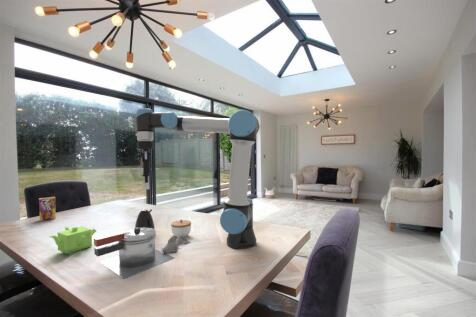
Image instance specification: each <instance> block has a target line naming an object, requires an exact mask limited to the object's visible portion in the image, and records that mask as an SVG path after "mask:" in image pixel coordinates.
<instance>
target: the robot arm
mask: <svg viewBox="0 0 476 317" xmlns="http://www.w3.org/2000/svg"><path fill="white" fill-rule="evenodd" d="M135 119H136V133H135V136H136V140H137V142H136V148H137V149H138V150H142V152H141V155H140V156H141V162H143V163H142V166H143V167H142V170H143V171H142V173H143V174H141V177H142V178H143V180H142V181H143V182H142V183H143V190H150V188H151V187H150V176H151V174H150V166H149V165H150V162H151V161H150V160H151V159H150V158H151V153H150V152H149V150H154V147H155V146H154V129H167V130H172V131H176V132H181V131H182V132H198V133H199V132H200V133H215V134H217V133H218V134H229V138H228V139H229V141H230V143H231V144H232V146H231V156H230V168H229V177H228V178H229V181H228V190H227V191H228V193H227V197H226V198H225V199H224V200H223V209H222V210H223V211H222V212H221V214H220V217H219V224H220V226H221V228H222V230H224V231H225V233H228V234H227V238H226V245H227V246H228V247H230V248H233V249H237V250H238V249H239V250H243V249H244V250H246V249H250V248H253V247H255V246H256V245H257V238H256V234H255V230H254V226H253V225H254V212H253V211H254V209H253V208H254V207H253V206H254V203H253V199H252V198H248V190H249V179H250V169H251V168H250V167H251V166H250V165H251V159H252V158H251V157H252V148H253V147H252V146H253V145H254V144H255V143H256V140H257V139H256V138H257V134H258V133H259V131H260V122H259V120H258V118H257V117H256V116H255V114H254V113H253V112H252V111H250V110H247V109H238V110H236V111H234V112H232V114H231V115H230V116H229V118H227V117H226V118H225V117H223V118H222V117H207V116H206V117H205V116H203V117H202V116H182V115H177V114H176V113H175V112H174V111H169V110H168V111H162V112H161V111H158V112H157V111H156V112H154V111H153V109H151V108H146V107H142V108H138V109H136V116H135Z"/></svg>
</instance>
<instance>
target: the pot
mask: <svg viewBox="0 0 476 317" xmlns="http://www.w3.org/2000/svg"><path fill="white" fill-rule="evenodd" d="M155 249H156V235H155V236H154V237H152V238H150V239H147V240H144V241H139V242H122V241H117V242H113V243H110V244H106V245H102V246H98V247H96V246H95V247H94V249H93V250H94V252H93V253H94V256H96V257H101V256H104V255H108V254H111V253H114V252H117V251H118V255H119V264H120V265H121V266H122V267H127V268H133V267H140V266H144V265H147V264H149V263H151V262H152V261H153V260H154V259H155Z"/></svg>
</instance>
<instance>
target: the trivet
mask: <svg viewBox="0 0 476 317" xmlns="http://www.w3.org/2000/svg"><path fill="white" fill-rule="evenodd" d="M174 259H175V257H174V256H172V255H169V254H168V253H164V252H163V251H160V250H158V249H156V248H155V259H154V260H153V261H152V262H151V263H149V264H147V265H144V266H140V267H133V268H127V267H122V266H121V265H120V264H119V254H118V255H115V256H112V257H108V258H106V259H103V260H99V263H100V264H102V265H103V266H105V267H106V268H107V269H109V270H110V271H112V272H114V273H115V275H118V276H119V277H120V278H122V279H123V280H125V279H128V278H131V277H132V276H136V275H137V274H139V273H143V272H144V271H147V270H149V269H152V268H154V267H157V266H159V265H162V264H165V263H167V262H169V261H172V260H174Z"/></svg>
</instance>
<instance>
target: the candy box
mask: <svg viewBox="0 0 476 317" xmlns="http://www.w3.org/2000/svg"><path fill="white" fill-rule="evenodd" d="M38 206H39V207H38V208H39V211H38V212H39V222H42V221H48V220H49V221H50V220H55V219H56V214H57V213H56V196H51V197H50V196H49V197H40V198H38Z"/></svg>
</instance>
